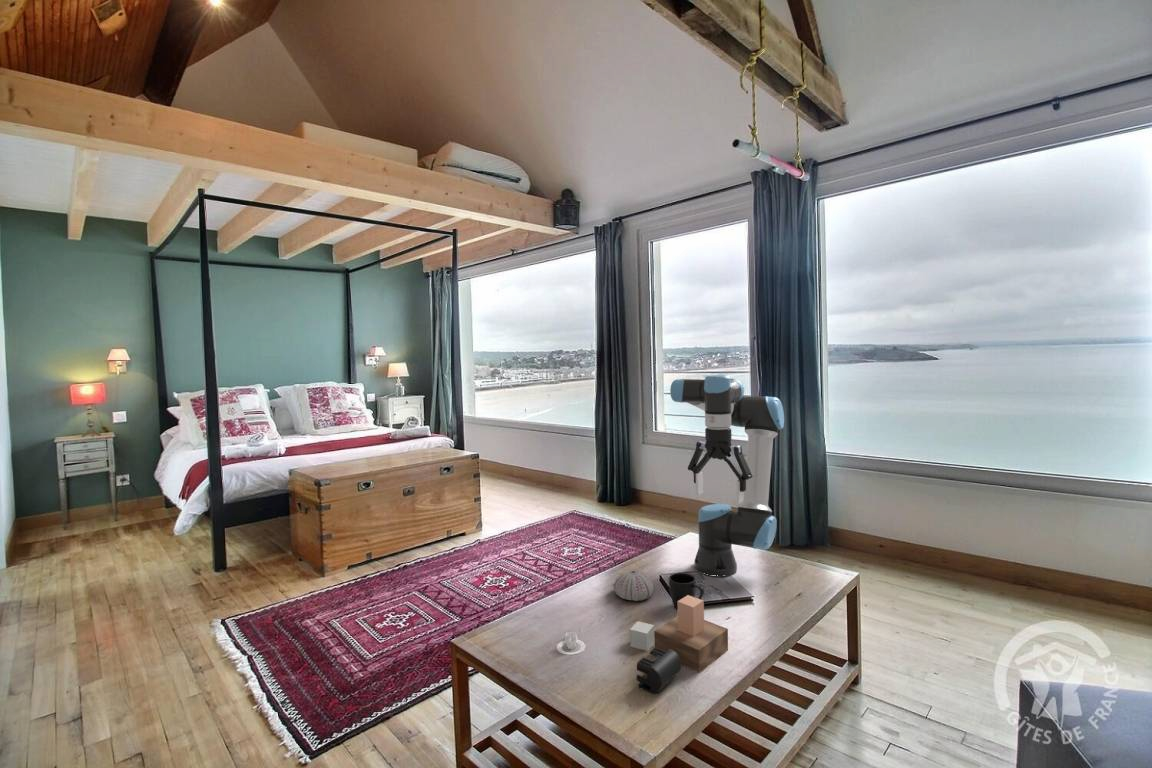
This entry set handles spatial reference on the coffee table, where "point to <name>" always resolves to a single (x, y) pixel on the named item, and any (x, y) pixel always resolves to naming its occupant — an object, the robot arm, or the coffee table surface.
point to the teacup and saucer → (571, 643)
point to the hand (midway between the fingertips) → (719, 498)
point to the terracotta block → (690, 615)
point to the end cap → (658, 670)
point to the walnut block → (693, 643)
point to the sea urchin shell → (633, 585)
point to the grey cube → (642, 635)
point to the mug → (683, 587)
